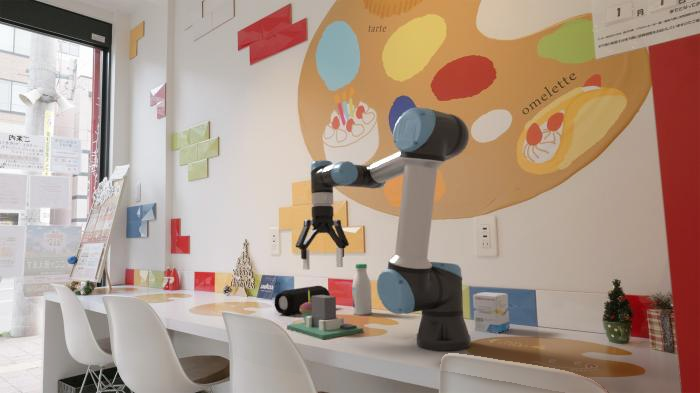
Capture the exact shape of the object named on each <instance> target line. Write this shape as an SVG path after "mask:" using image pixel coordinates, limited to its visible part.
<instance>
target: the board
mask: <svg viewBox="0 0 700 393" xmlns="http://www.w3.org/2000/svg"><path fill="white" fill-rule="evenodd" d="M344 322H345V321H344V317H340V316H338V317H337V316H336V319H331V320H325V321H324V320H319V328H318V327H314V326H312V316H307V317H305V320H304V322H299V323H292V324H286V325H287V326H286V329H287V330H290V331H293V332H297V333H300V334H303V335H307V336H308V337H309V336H310V337H313V338H317V339H320V340H328V339H331V338H333V339H334V338H337V337H342V336H348V335H352V334H353V335H354V334H361V333H363V332H364V328H363V327H360V326H359V327H358V326H357V325H355V324H352V323H344Z"/></svg>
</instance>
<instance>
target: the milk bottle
mask: <svg viewBox="0 0 700 393" xmlns="http://www.w3.org/2000/svg"><path fill="white" fill-rule="evenodd" d="M367 266H368V265H367V263H357V264H355V275H354V278H353V280H352V288H351V289H352V290H351V291H352V292H351V294H352V299H351V300H352V314H354V315H359V316H364V315H371V314H372V311H373V310H372V308H373V306H372V285H371V284H372V283H371V280H370V277H369V275H368V273H367V270H368V269H367V268H368V267H367Z"/></svg>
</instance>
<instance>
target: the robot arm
mask: <svg viewBox="0 0 700 393" xmlns="http://www.w3.org/2000/svg"><path fill="white" fill-rule="evenodd" d="M395 122H396V123H395V125H394V128H393V132H392V139H393V143H394V146H395V147H396V148H397V149H398V150H397V151H395V152H393V153H391V154H389V155H386V156H384V157H383V158H381V159H378V160H376V161H374V162H372V163H370V164H367V165H363V164H361V165H360V164H354V163H353V162H352V161H350V160H349V161H346V160H345V161H339V162H337V163H333V162H332V161H330V160H327V159H326V160H322V159H320V160H314V161H313V162H312V163H311V166H310V188H311V189H310V190H311V194H310V195H311V205H312V207H311V218H312V219H304V220H303V227H302V230H301V231H300V234H299V235H298V238H297V241H296V243H295V248H298V249H299V250H300V254H301V255H300V258H301V259H302V268H303V270H310V249H308V247H309V246H310V245H311V243H312V242H313V240H314V239H315V238H316V236H317V235H318V234H327V235H329V237H330V238H331V239H332V241H333V242H334V243H335V244H336V247H337V248H335V250H336V251H335V252H336V256H335V257H336V258H335V259H336V261H335V262H336V268H343V267H344V264H343V263H344V262H343V258H344V257H345V249H346V248H347V247H348V246H349V244H350V243H349V241H348V239H347V237H346V235H345V232H344V230H343V227H342V221H341V219H335V220H334V215H335V214H334V206H333V205H334V187H335V188H336V187H350V188H352V187H353V188H354V187H355V188H364V189H381V188H382V187H384V186H385V184H386V183H387V182H388V181H390V180H393V179H395V178H398V177H400V176H402V175H403V178H402V188H401V198H400V205H399V206H400V207H399V215H398V222H397V223H398V224H397V235H396V242H395V243H396V244H395V252H394V254H393V255H392V256H391V257H389V259H388V262H387V269H384V270H383V271H381V272H380V274H379V275H378V277H377V280H376V291H377V295H378V298H379V300H380V301H381V304H382V305H383V307H384V308H385V309H386V310H388V311H389V312H390V313H391V314H392V313H393V314H396V315H400V314H405V315H406V314H407V315H409V314H411V313H416V312H421V319H420V321H419V322H420V323H419V326H418V327H419V328H418V332H417V333H416V345H417V346H418V347H420V348H423V349H427V350H432V351H433V350H434V351H460V350H466V349H469V348H470V347H471V346H472V342H471V341H472V339H471V335H470V333H469V330H468V327H467V324H466V321H465V318H464V303H463V302H464V301H463V297H464V296H463V276H462V268H461V266H460V265H459V264H457V263H449V262H441V261H440V262H438V261H430V260H429V259H428V254H429V245H430V236H431V227H432V218H433V210H434V200H435V193H436V183H437V176H438V170H439V168H440V167H441V166H442V165H444V163H445V162H446V161H448V160H451V159H453V158H455V157H457V156H459V155H460V154H462V153H463V151H464V150H466V148H467V146H468V143H469V140H470V134H469V129H468V125H467V124H466V123H465V121H464V120H463V119H461V118H460V117H459V116H457V115H455V114H451V113H446V112H442V111H439V110H434V109H431V108H427V107H426V108H425V107H411V108H409V109H407V110H405V111H404V112H402V115H400V116H399V117H398V119H397V121H395ZM311 226H312V227H311ZM333 226H334V227H333ZM310 228H312V229H311V230H310ZM309 231H310V232H309Z"/></svg>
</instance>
